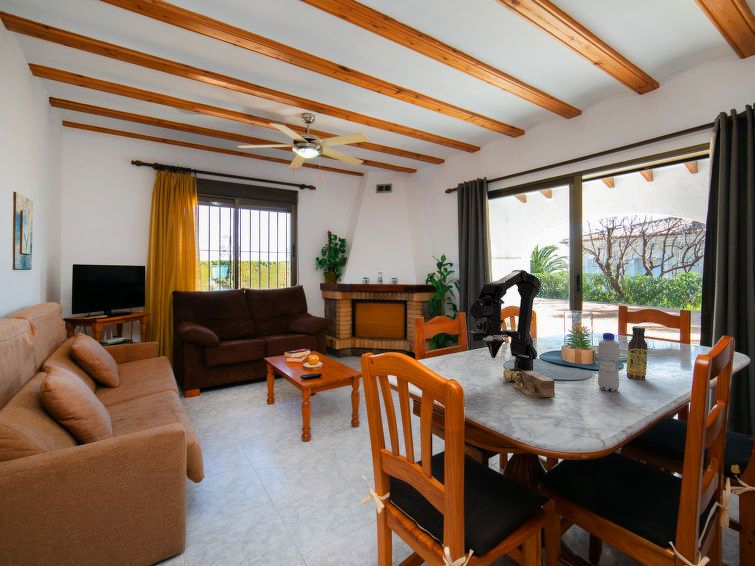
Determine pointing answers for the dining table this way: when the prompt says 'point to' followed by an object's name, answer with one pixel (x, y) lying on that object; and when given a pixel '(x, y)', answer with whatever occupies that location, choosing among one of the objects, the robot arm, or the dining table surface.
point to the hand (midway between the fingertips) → (493, 357)
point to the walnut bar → (538, 383)
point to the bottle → (608, 363)
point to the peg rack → (526, 390)
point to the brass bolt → (510, 375)
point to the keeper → (517, 373)
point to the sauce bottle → (637, 355)
